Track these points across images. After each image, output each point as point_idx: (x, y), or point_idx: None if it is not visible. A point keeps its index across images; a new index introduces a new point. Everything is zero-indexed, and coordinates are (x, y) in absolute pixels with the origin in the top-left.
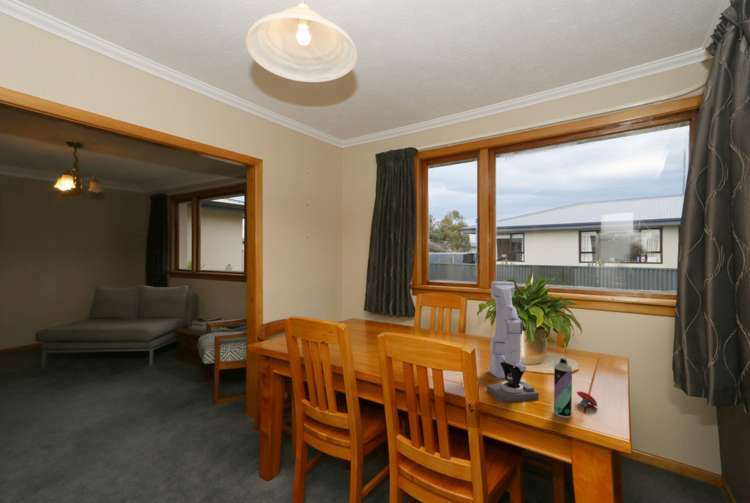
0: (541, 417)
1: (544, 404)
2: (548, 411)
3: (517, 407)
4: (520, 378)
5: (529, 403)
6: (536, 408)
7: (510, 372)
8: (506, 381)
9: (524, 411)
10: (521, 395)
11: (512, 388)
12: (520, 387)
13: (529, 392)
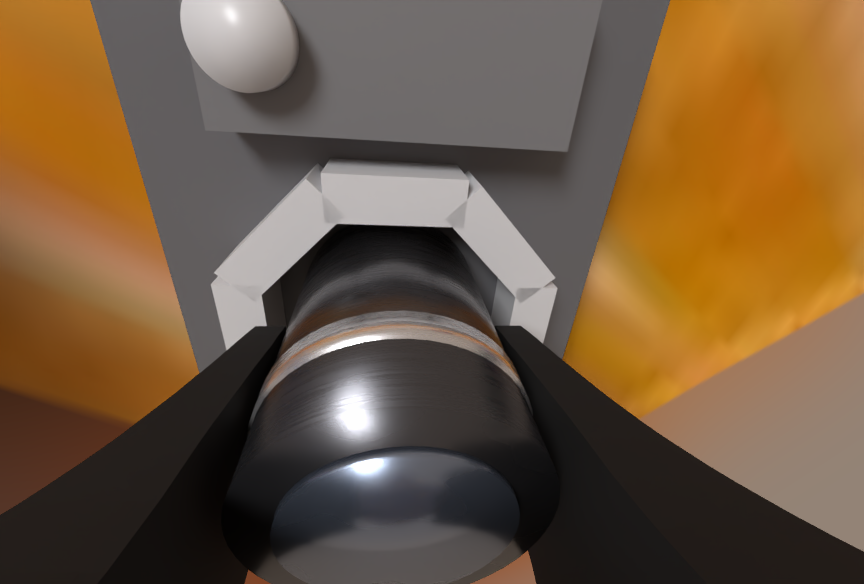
0: (844, 298)
1: (755, 46)
2: (858, 149)
3: (628, 371)
4: (620, 418)
5: (634, 221)
6: (740, 227)
7: (340, 571)
8: (230, 343)
9: (702, 359)
10: (575, 292)
11: None
12: (513, 274)
13: (587, 140)
